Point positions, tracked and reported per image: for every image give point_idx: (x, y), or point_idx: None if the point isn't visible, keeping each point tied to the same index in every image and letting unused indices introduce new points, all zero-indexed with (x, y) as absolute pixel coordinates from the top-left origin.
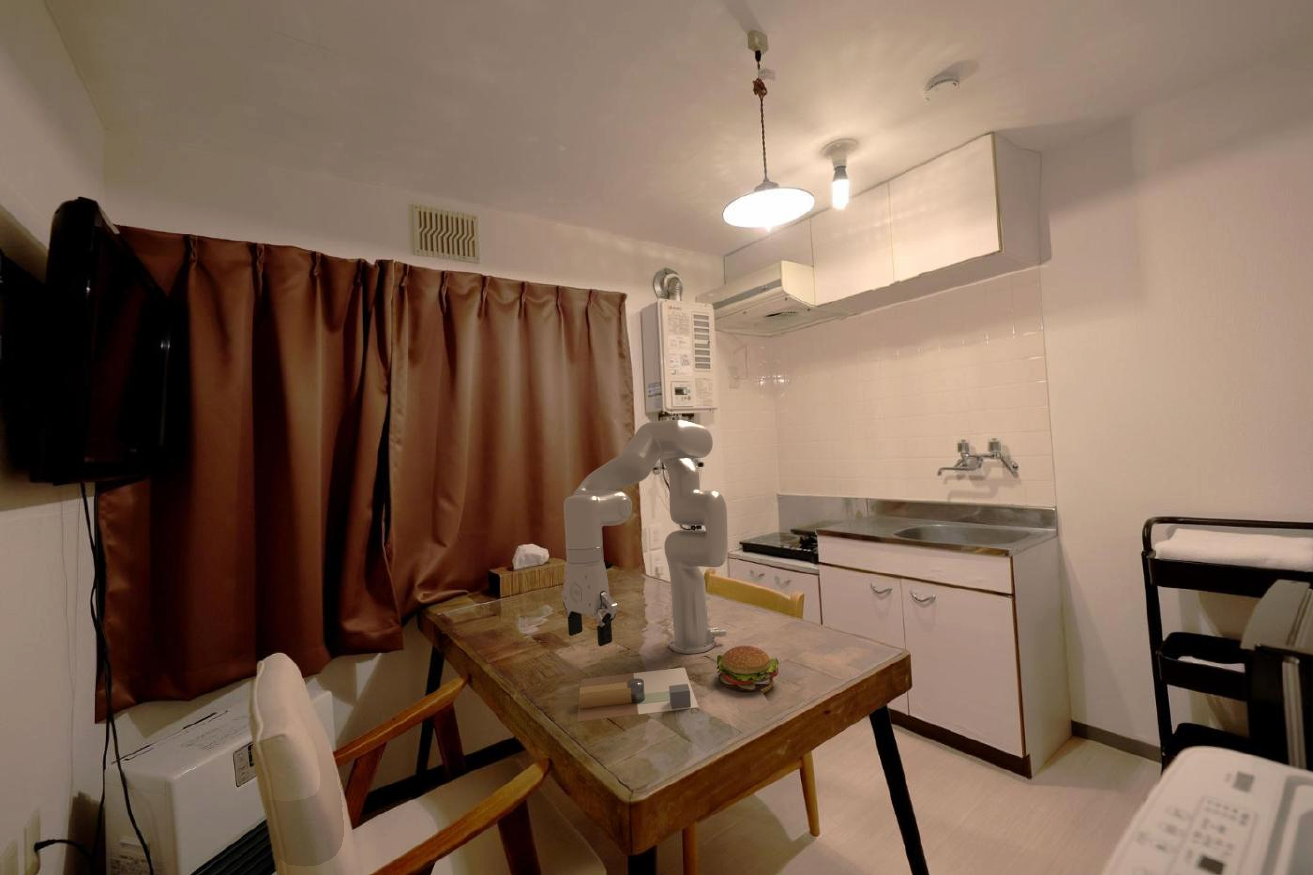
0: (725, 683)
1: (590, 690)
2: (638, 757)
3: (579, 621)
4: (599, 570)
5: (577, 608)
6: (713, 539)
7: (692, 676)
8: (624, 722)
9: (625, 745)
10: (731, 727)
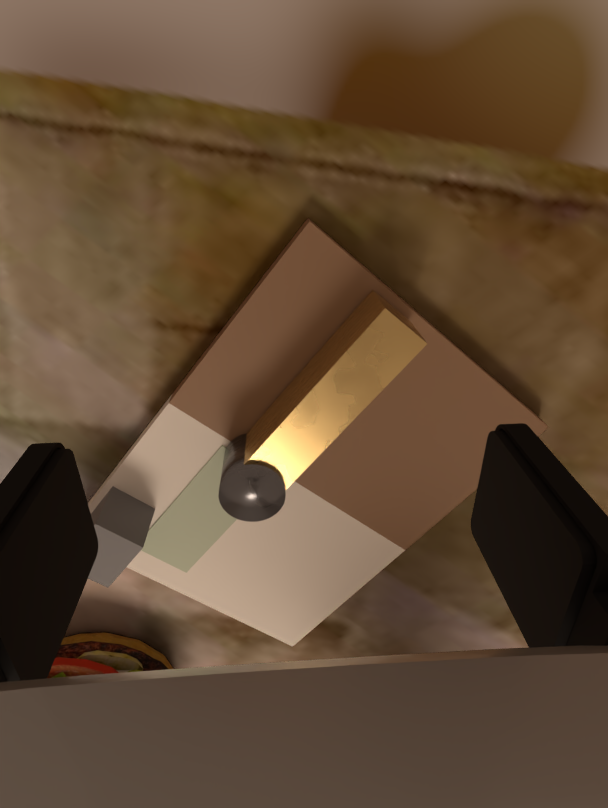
0: (103, 649)
1: (365, 356)
2: None
3: (515, 586)
4: None
5: (272, 762)
6: None
7: (256, 630)
8: (199, 355)
9: (67, 264)
10: None
